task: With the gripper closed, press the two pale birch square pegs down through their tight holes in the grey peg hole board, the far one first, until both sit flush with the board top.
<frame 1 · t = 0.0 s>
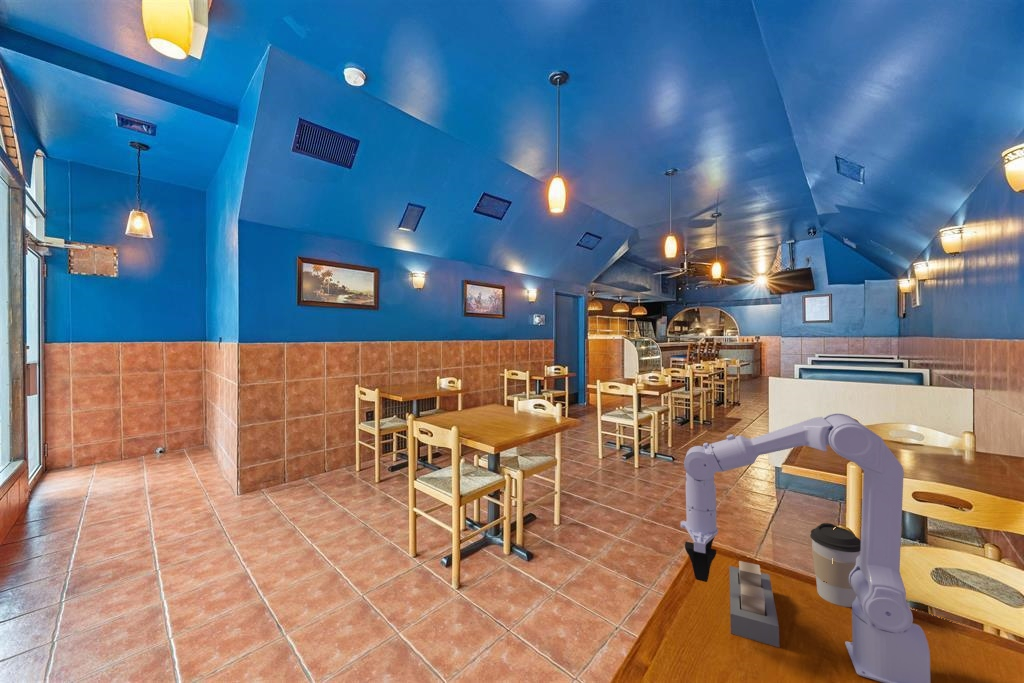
hand: (702, 569, 82), 10 cm above the table, tool pointing down, fingers open, 7 cm apart
coffee cup: (836, 597, 88), on the table
far peg: (749, 575, 88), point 5 cm above the table, slide at 0.0 cm
near peg: (752, 599, 80), point 5 cm above the table, slide at 0.0 cm
grey peg hole board: (751, 611, 84), on the table
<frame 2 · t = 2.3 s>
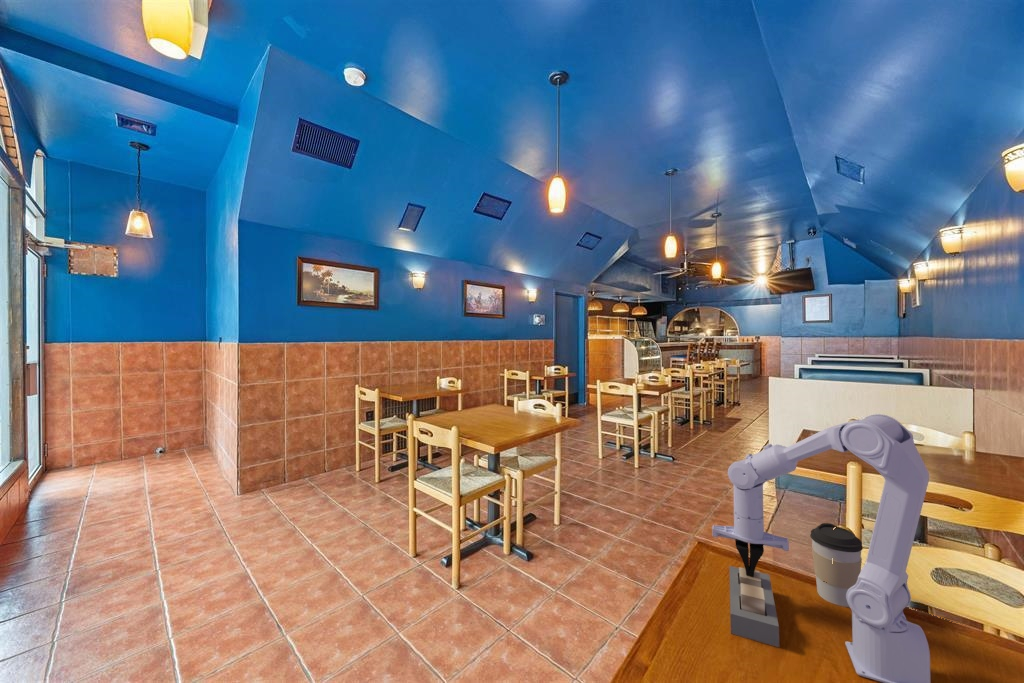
hand: (749, 574, 88), 6 cm above the table, tool pointing down, fingers closed, pressing on far peg
far peg: (750, 581, 88), point 4 cm above the table, slide at 1.4 cm, touching gripper
everything else where it was.
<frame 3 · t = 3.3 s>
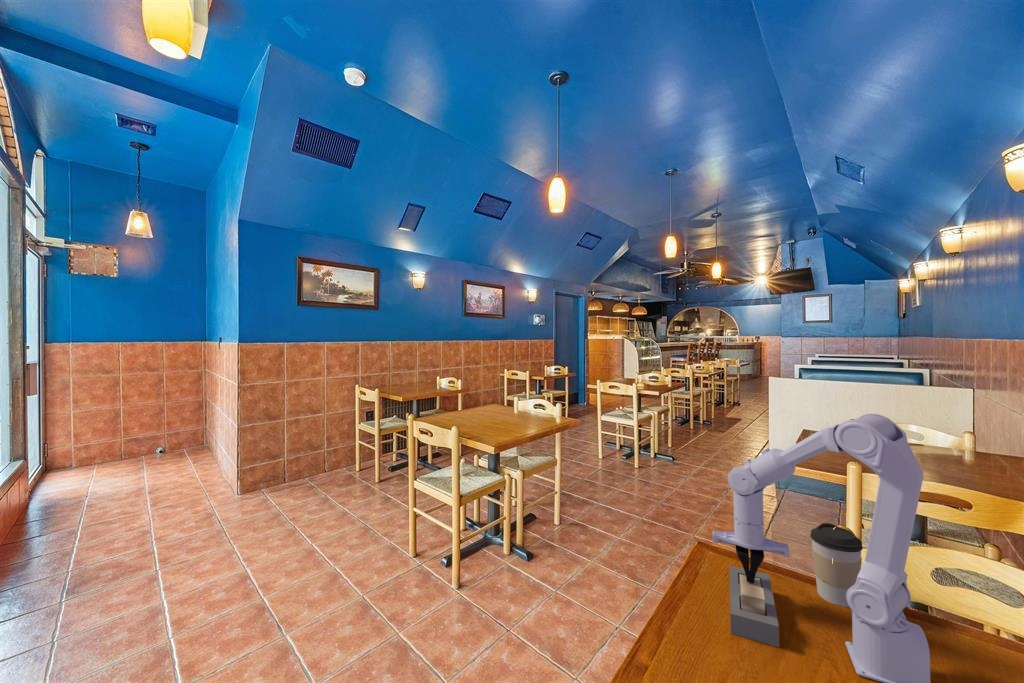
hand: (750, 580, 88), 4 cm above the table, tool pointing down, fingers closed
far peg: (750, 589, 88), point 2 cm above the table, slide at 3.1 cm
everything else where it was.
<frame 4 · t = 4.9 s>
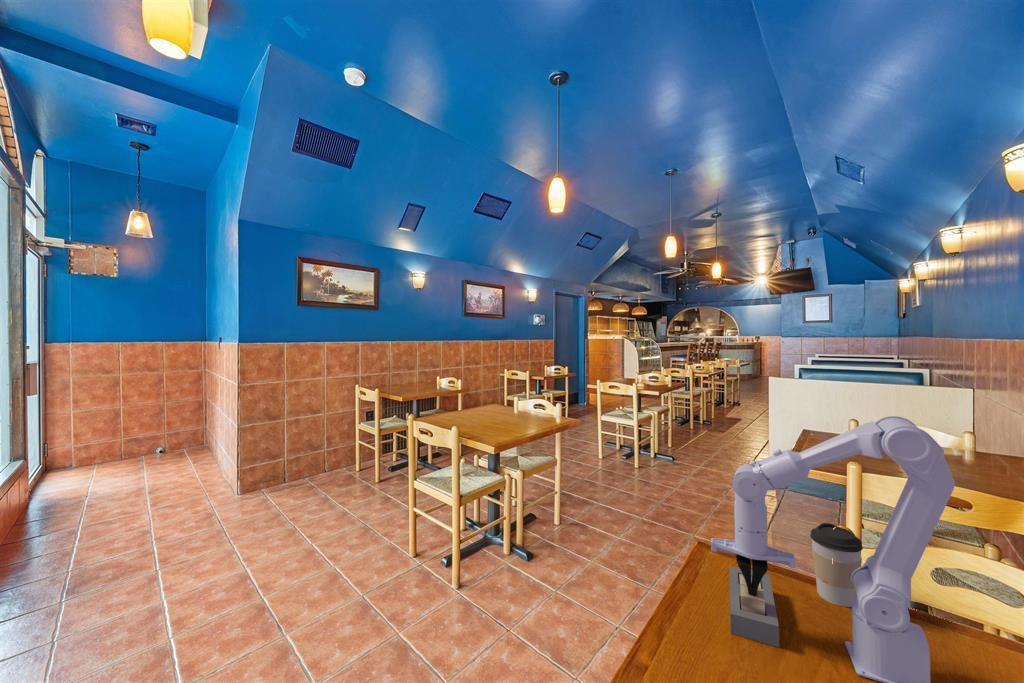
hand: (752, 592, 80), 7 cm above the table, tool pointing down, fingers closed, pressing on near peg
near peg: (752, 601, 80), point 5 cm above the table, slide at 0.3 cm, touching gripper
everything else where it was.
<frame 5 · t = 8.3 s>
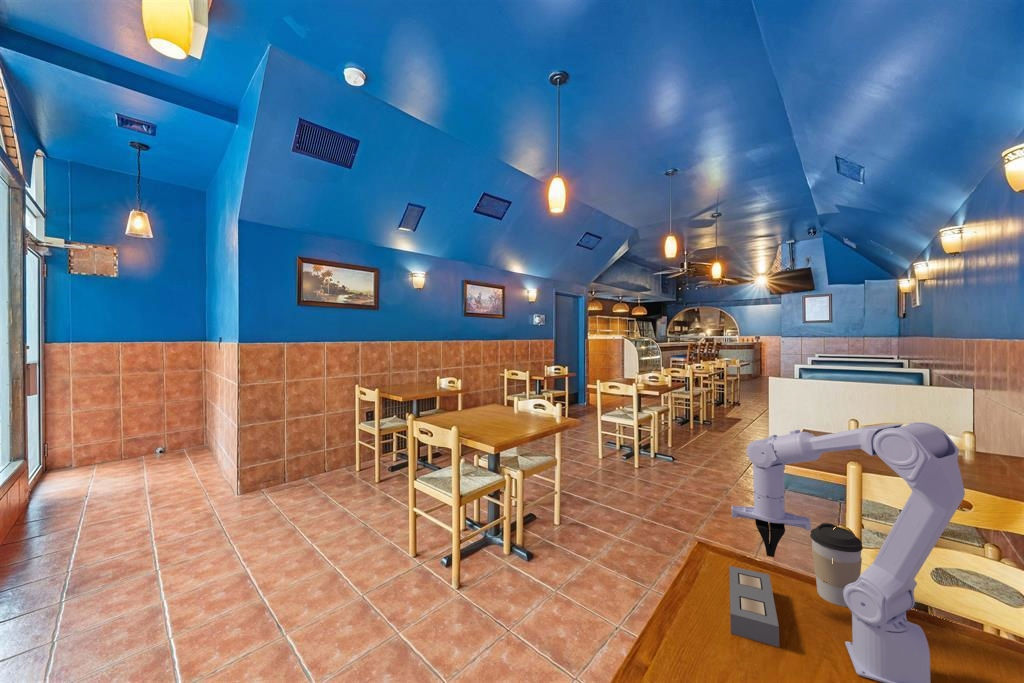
hand: (770, 554, 87), 10 cm above the table, tool pointing down, fingers closed
near peg: (752, 614, 80), point 2 cm above the table, slide at 3.1 cm
everything else where it was.
at the end: far peg slide at 3.1 cm; near peg slide at 3.1 cm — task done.
